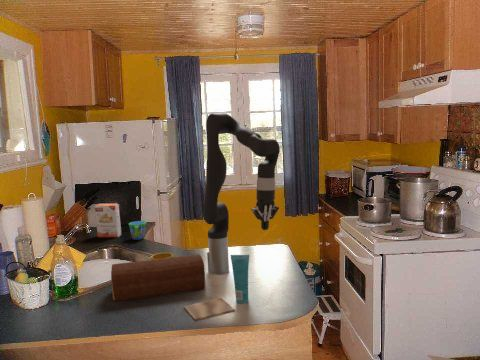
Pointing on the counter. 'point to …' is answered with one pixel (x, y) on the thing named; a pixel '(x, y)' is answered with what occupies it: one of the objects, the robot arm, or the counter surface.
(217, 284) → the counter surface
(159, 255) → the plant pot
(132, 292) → the bread
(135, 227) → the snack cup
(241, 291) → the tube
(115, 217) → the cracker box
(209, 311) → the cork mat
